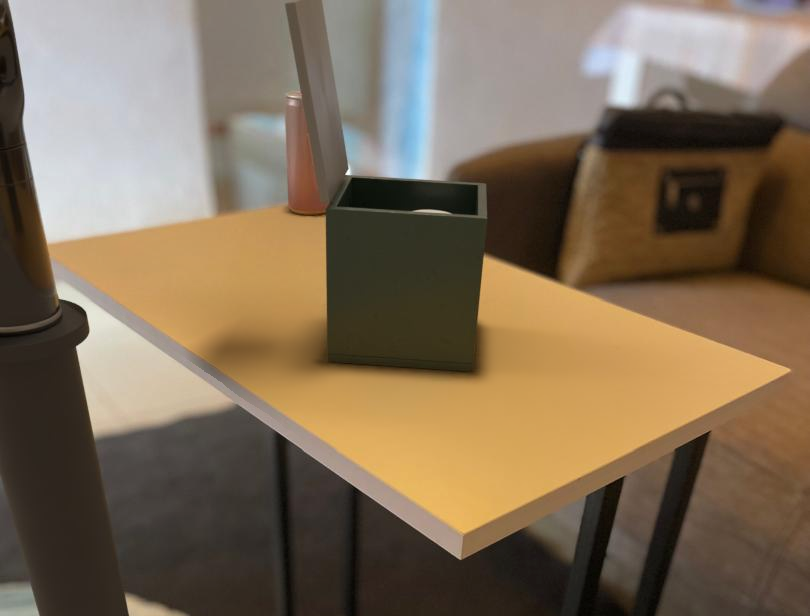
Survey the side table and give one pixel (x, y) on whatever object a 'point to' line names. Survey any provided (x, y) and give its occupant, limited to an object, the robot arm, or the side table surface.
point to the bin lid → (318, 93)
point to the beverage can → (300, 160)
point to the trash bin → (404, 272)
